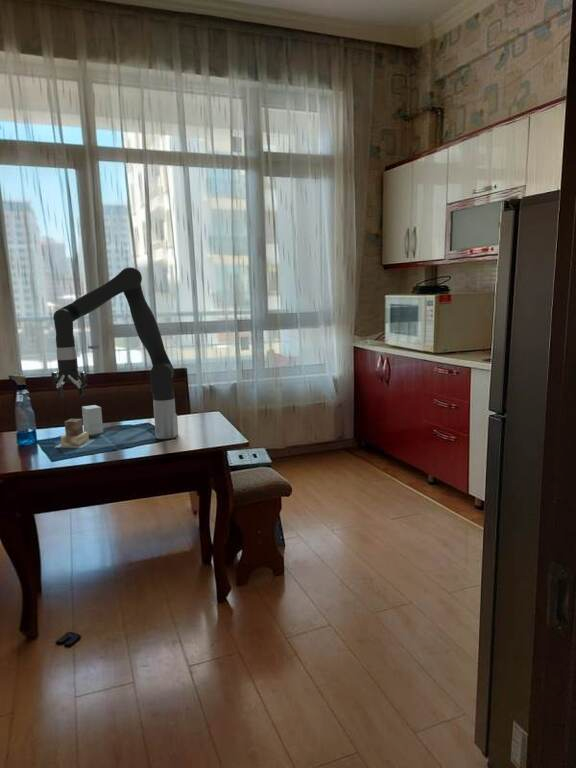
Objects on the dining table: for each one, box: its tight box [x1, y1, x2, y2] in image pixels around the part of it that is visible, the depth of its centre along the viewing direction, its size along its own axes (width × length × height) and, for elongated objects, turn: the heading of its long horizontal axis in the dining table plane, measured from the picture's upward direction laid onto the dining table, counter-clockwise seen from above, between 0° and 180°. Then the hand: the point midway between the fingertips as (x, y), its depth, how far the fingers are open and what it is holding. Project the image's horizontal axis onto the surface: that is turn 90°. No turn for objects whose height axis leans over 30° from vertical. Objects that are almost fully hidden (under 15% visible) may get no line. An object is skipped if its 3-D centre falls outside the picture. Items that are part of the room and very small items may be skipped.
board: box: [55, 438, 96, 449], centre depth 218 cm, size 12×12×1 cm
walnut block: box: [64, 418, 84, 436], centre depth 216 cm, size 5×5×6 cm
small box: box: [81, 404, 104, 436], centre depth 234 cm, size 8×6×13 cm
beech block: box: [60, 431, 90, 446], centre depth 217 cm, size 8×8×4 cm
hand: (71, 396), depth 214 cm, fingers open, 8 cm apart
